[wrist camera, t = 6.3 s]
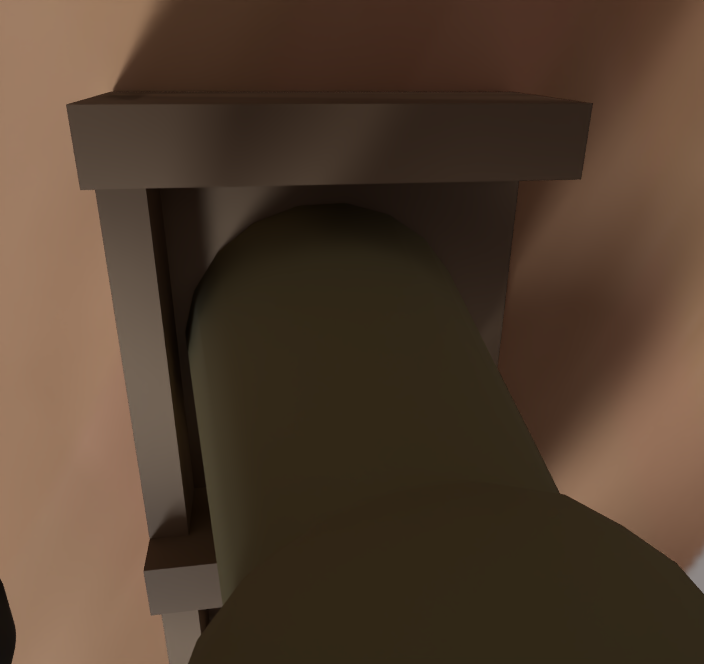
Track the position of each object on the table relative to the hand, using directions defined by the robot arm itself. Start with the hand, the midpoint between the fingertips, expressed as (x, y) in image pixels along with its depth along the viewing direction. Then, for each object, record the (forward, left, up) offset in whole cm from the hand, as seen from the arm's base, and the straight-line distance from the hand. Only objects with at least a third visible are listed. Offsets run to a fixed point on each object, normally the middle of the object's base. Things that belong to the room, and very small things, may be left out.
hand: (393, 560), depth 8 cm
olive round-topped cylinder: (0, 0, -7) cm, 7 cm away
